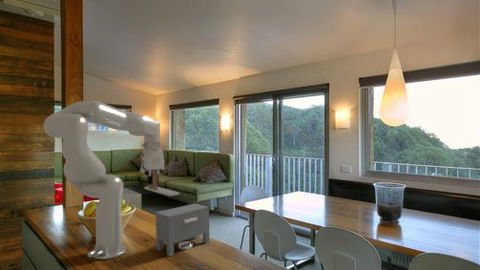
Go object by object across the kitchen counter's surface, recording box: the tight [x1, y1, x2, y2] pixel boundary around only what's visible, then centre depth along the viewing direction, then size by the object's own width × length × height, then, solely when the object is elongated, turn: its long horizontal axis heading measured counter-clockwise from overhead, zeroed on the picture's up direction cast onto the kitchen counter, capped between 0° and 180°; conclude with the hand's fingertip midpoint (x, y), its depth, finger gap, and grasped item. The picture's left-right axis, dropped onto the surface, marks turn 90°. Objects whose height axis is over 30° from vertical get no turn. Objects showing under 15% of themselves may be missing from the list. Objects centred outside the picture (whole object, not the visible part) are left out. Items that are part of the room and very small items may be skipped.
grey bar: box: [144, 170, 180, 197], centre depth 140 cm, size 5×23×9 cm, turn 45°
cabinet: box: [155, 203, 210, 257], centre depth 127 cm, size 20×11×16 cm, turn 135°
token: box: [178, 240, 194, 251], centre depth 127 cm, size 6×6×2 cm
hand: (153, 183), depth 146 cm, fingers closed on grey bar, 2 cm apart
